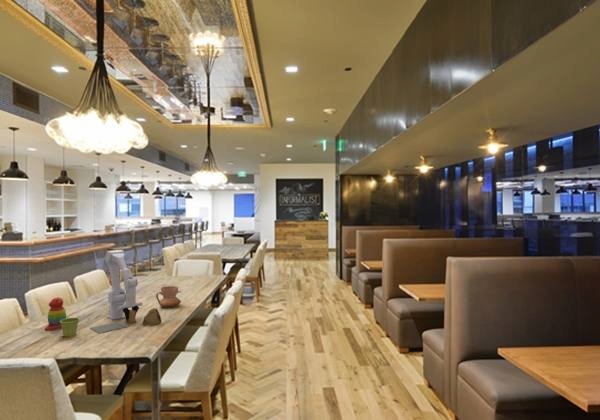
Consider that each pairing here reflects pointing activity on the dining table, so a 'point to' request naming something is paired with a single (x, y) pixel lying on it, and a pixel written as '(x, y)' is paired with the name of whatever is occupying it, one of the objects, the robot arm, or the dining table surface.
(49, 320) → the stacking bear
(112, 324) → the rubber mat
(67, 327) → the plant pot
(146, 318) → the rock
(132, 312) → the walnut block
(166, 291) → the ceramic jug
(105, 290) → the dining table surface
